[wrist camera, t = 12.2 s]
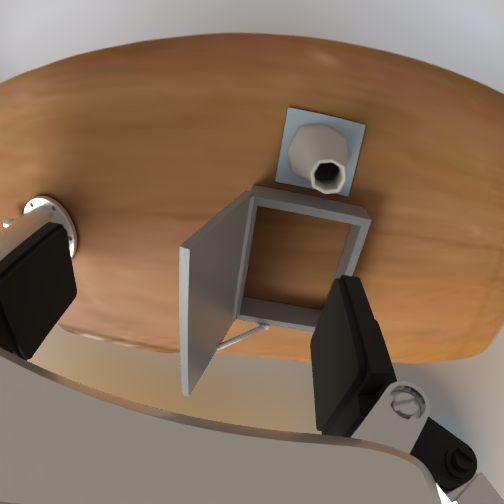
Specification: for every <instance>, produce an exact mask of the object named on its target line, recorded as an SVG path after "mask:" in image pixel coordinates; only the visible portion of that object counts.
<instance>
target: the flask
mask: <svg viewBox="0 0 504 504" xmlns="http://www.w3.org/2000/svg"><path fill="white" fill-rule="evenodd" d="M287 151H288V156H289V162H290V168H291V172H292V173H294V174H296V175H298V176H300V177H302V178H304V179H306V180H307V181H309V182H311V183H312V187H313V188H315V189H317V190H319V191H320V192H322V193H324V194H329V193H338V192H340V190H341V189H342V187H343V186H344V184H345V182H346V181H347V177H346V168H345V166H346V164H347V162H348V161H349V158H348V149H347V141H346V136H345V135H343V134H341V133H340V132H338V131H336V130H334V129H333V128H331V127H329V126H327V125H326V124H316V125H308V126H300V127H298V129H297V131H296V133H295V135H294V136H293V138H292V140H291V142H290V144H289V146H288V147H287Z"/></svg>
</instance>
